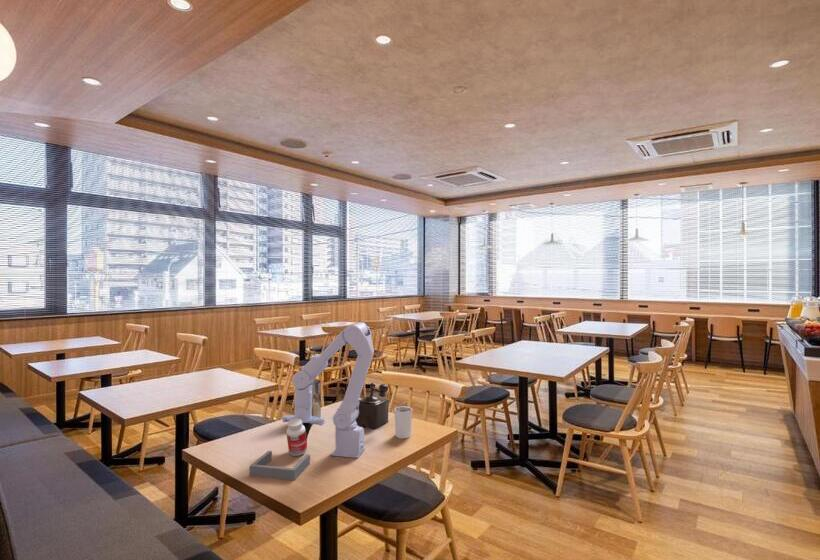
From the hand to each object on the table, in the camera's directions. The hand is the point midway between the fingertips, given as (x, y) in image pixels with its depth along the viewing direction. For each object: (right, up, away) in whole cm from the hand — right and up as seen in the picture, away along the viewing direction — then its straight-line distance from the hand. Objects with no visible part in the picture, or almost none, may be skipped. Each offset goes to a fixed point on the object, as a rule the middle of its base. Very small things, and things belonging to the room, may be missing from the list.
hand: (302, 443), depth 152 cm
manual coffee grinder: (+23, -2, +24) cm, 34 cm away
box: (-3, -2, -16) cm, 16 cm away
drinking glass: (+35, -2, +13) cm, 37 cm away
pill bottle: (-1, -1, -4) cm, 4 cm away
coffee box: (-4, -1, +28) cm, 28 cm away
